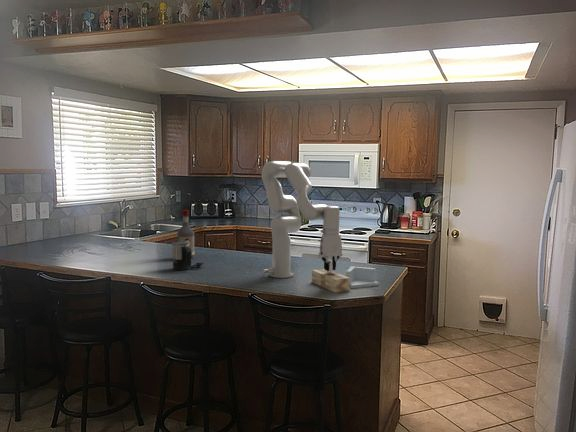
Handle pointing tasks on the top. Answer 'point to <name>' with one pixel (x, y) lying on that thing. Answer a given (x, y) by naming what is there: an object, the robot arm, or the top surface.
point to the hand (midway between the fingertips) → (329, 269)
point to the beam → (331, 281)
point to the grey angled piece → (361, 277)
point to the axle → (330, 267)
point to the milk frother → (182, 256)
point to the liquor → (186, 233)
